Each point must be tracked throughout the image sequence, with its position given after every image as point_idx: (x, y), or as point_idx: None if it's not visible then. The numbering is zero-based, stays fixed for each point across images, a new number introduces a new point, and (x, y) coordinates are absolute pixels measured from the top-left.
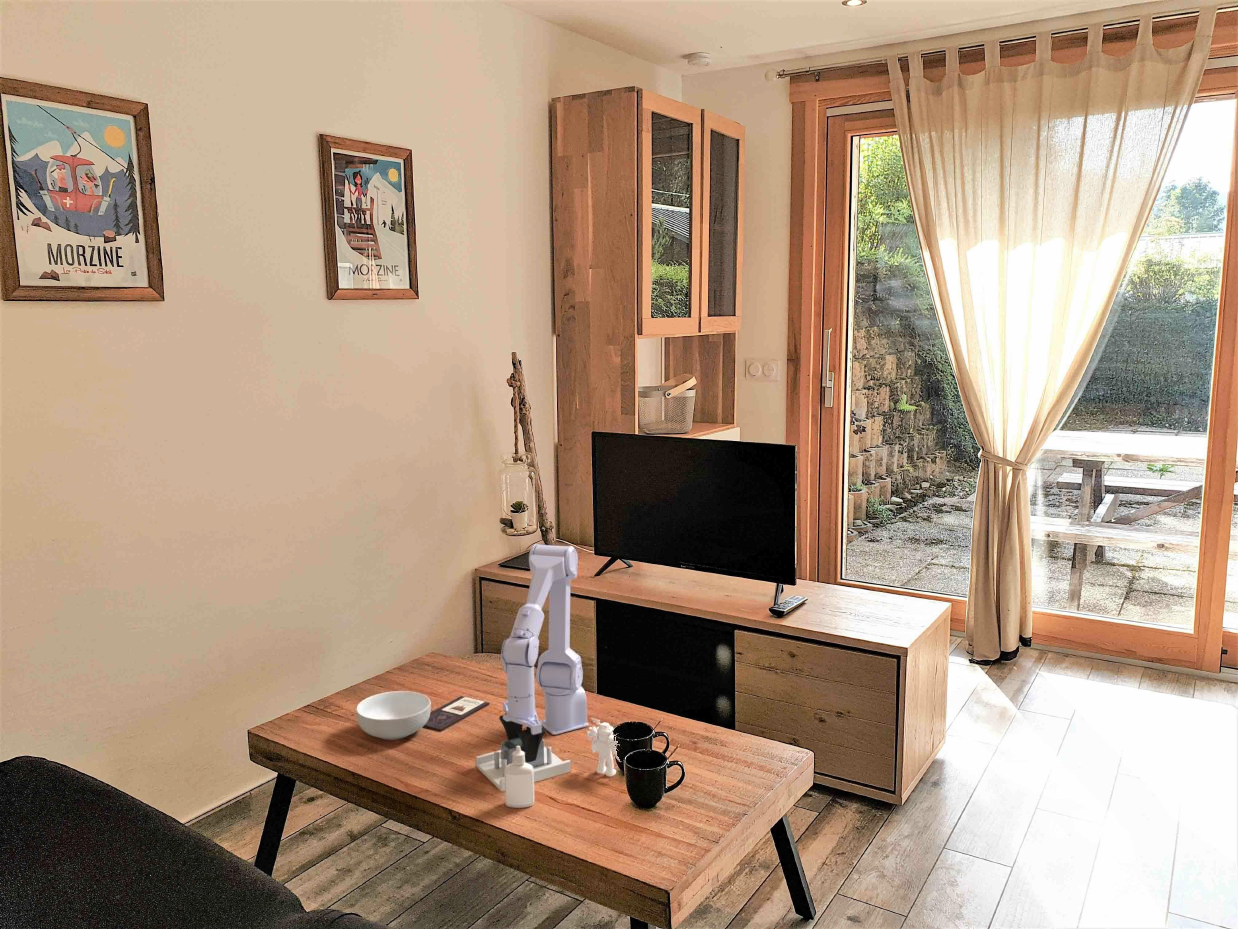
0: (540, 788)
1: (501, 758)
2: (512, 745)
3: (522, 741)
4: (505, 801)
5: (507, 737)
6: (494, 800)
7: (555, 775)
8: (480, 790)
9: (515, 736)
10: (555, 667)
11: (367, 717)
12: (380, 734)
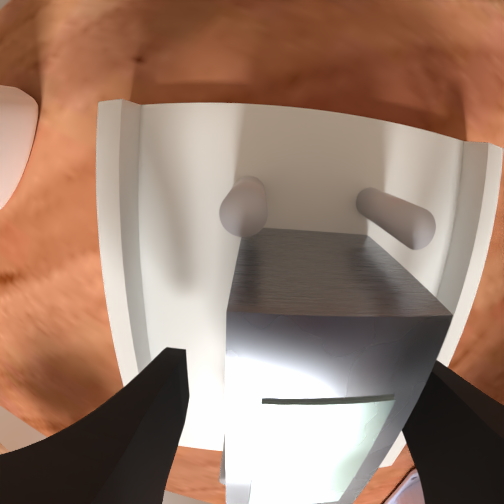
0: (74, 288)
1: (386, 253)
2: (302, 380)
3: (77, 461)
4: (9, 86)
5: (471, 388)
6: (82, 53)
7: None
8: (216, 21)
9: (432, 432)
10: None
11: None
12: None
